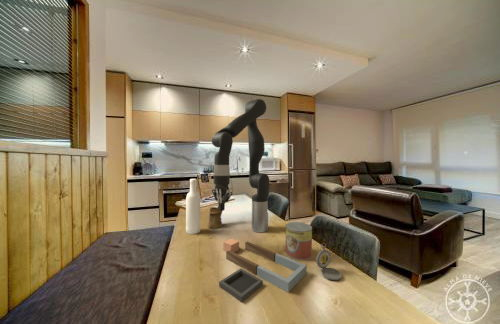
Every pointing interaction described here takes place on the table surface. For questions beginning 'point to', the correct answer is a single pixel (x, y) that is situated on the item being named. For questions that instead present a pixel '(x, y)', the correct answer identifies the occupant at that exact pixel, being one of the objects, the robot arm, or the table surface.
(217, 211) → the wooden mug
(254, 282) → the dark gray tray
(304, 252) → the canned food
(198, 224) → the bottle
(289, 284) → the slate bay
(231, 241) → the terracotta block
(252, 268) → the wooden bars
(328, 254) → the pocket watch
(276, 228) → the table surface
